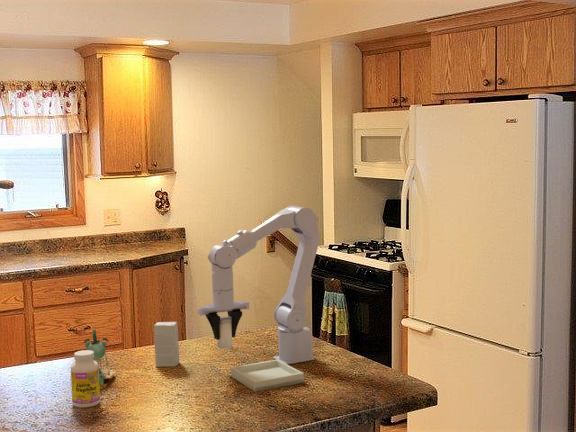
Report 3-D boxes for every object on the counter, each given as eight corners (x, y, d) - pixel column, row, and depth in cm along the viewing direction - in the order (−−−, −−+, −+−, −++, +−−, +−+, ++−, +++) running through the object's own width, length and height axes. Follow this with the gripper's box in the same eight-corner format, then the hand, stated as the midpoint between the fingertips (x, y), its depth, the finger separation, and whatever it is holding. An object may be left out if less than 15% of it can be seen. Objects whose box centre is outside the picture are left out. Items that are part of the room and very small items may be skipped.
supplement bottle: (72, 409, 189) (69, 357, 187) (72, 401, 195) (69, 350, 194) (101, 406, 190) (98, 354, 189) (99, 398, 197) (97, 347, 195)
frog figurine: (73, 392, 202) (70, 334, 202) (83, 378, 220) (80, 325, 220) (111, 389, 203) (108, 332, 203) (118, 376, 221) (115, 323, 221)
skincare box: (179, 362, 226) (178, 321, 225) (176, 367, 222) (174, 325, 220) (159, 362, 227) (157, 321, 225) (155, 366, 222) (153, 325, 221)
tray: (277, 368, 218) (277, 359, 218) (303, 382, 205) (303, 373, 204) (231, 376, 212) (230, 367, 211) (255, 391, 198) (254, 382, 198)
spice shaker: (229, 343, 219) (228, 315, 219) (235, 347, 216) (234, 318, 215) (215, 345, 217) (214, 317, 217) (221, 349, 214) (219, 320, 213)
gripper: (241, 283, 222) (242, 330, 223) (192, 289, 215) (194, 338, 217) (251, 287, 216) (253, 336, 217) (202, 294, 209) (204, 344, 210)
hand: (224, 337), depth 216 cm, fingers closed on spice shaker, 4 cm apart
